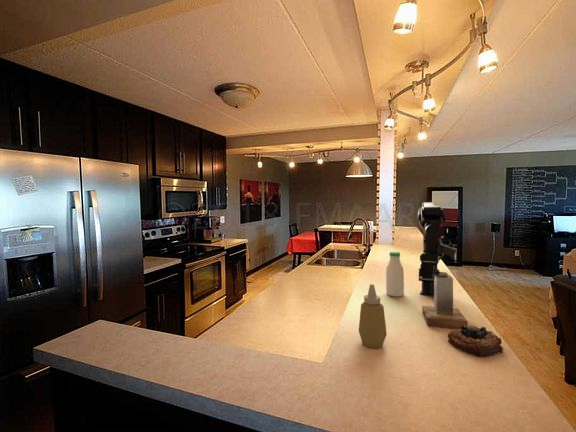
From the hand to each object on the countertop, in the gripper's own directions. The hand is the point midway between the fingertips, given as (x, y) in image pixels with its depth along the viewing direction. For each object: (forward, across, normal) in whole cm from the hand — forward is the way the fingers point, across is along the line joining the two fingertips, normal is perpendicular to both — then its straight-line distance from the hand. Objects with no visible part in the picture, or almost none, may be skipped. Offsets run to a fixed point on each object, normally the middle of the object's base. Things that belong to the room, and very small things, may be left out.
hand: (432, 276), depth 112 cm
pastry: (+14, -27, -14) cm, 34 cm away
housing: (+10, -12, -5) cm, 16 cm away
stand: (+13, -12, -5) cm, 18 cm away
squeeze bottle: (+14, -42, +11) cm, 45 cm away
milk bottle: (+13, +11, +17) cm, 24 cm away
